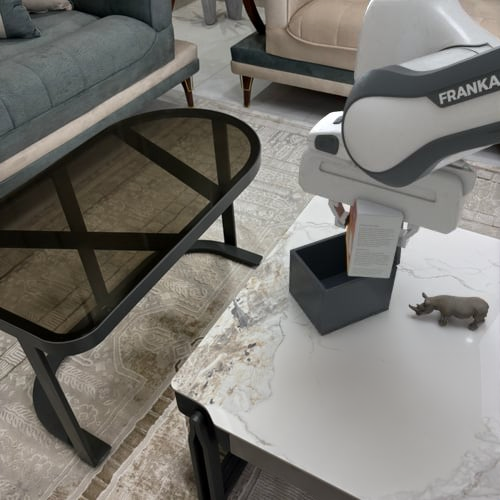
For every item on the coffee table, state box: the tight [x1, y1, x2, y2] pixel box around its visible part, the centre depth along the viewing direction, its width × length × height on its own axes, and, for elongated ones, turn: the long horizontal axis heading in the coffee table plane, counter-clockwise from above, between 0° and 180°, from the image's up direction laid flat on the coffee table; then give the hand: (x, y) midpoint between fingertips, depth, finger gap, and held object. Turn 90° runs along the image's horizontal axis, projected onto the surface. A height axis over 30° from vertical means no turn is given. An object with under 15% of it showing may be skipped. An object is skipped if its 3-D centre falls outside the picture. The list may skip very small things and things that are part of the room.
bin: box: [288, 230, 398, 337], centre depth 92 cm, size 14×12×11 cm
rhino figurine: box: [408, 291, 490, 331], centre depth 88 cm, size 4×14×6 cm, turn 79°
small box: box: [346, 198, 403, 278], centre depth 65 cm, size 8×6×10 cm
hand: (370, 234), depth 66 cm, fingers closed on small box, 7 cm apart
